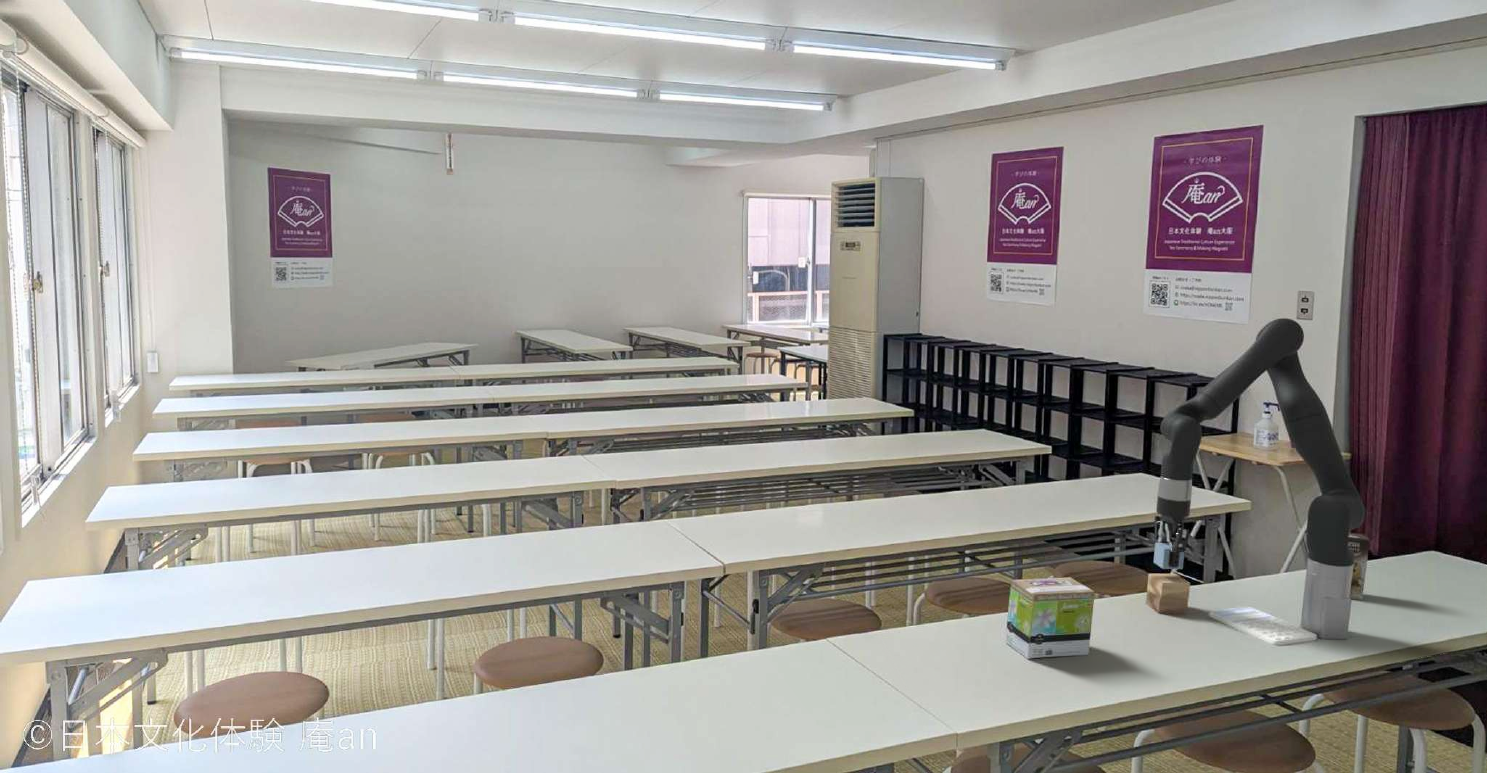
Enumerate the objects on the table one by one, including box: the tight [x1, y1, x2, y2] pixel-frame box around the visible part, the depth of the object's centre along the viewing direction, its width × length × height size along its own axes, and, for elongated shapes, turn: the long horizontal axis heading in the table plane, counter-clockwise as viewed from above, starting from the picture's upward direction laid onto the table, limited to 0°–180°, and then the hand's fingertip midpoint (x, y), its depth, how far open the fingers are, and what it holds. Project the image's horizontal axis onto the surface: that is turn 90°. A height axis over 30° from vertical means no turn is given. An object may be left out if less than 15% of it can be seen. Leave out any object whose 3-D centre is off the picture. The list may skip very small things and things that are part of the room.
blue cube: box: [1153, 542, 1185, 570], centre depth 253 cm, size 5×5×5 cm
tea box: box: [1004, 576, 1096, 660], centre depth 224 cm, size 15×10×15 cm
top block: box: [1146, 573, 1191, 600], centre depth 253 cm, size 7×7×4 cm
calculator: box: [1208, 606, 1318, 646], centre depth 243 cm, size 13×20×2 cm, turn 21°
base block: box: [1145, 588, 1189, 615], centre depth 253 cm, size 7×7×4 cm
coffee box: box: [1348, 532, 1371, 601], centre depth 268 cm, size 9×6×16 cm
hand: (1168, 562), depth 253 cm, fingers closed on blue cube, 5 cm apart
